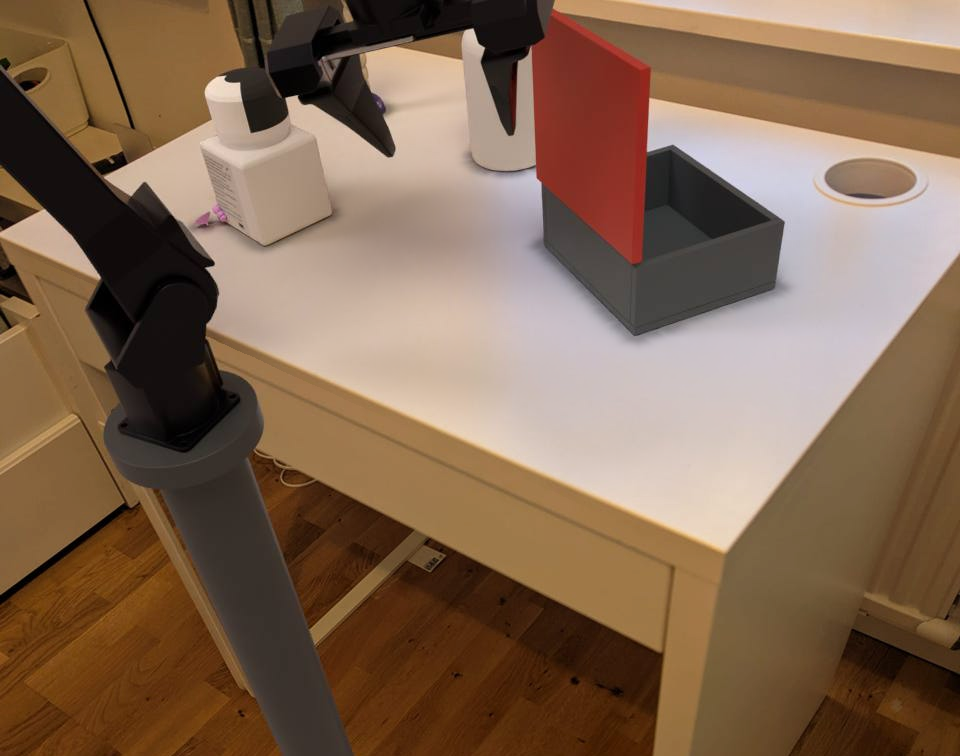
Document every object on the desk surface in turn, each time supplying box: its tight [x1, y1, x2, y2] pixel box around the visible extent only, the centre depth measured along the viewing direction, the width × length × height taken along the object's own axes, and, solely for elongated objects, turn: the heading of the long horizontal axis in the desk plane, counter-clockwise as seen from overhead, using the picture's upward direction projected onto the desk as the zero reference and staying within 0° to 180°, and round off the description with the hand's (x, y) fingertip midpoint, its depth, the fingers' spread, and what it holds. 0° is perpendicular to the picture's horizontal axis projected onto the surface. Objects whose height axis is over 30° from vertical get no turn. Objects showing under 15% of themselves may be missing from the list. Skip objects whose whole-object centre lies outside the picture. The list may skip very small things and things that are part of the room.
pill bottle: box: [461, 29, 536, 172], centre depth 88 cm, size 8×8×15 cm
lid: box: [531, 8, 652, 264], centre depth 66 cm, size 13×15×1 cm
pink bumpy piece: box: [194, 204, 227, 226], centre depth 87 cm, size 3×2×2 cm
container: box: [199, 66, 333, 247], centre depth 83 cm, size 8×8×13 cm
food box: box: [540, 144, 786, 336], centre depth 74 cm, size 12×15×6 cm
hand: (450, 143), depth 66 cm, fingers open, 9 cm apart
